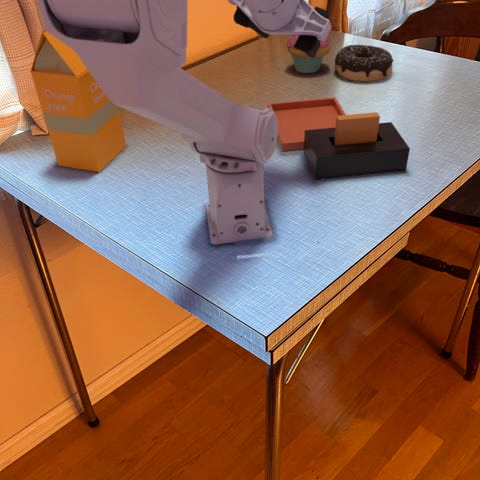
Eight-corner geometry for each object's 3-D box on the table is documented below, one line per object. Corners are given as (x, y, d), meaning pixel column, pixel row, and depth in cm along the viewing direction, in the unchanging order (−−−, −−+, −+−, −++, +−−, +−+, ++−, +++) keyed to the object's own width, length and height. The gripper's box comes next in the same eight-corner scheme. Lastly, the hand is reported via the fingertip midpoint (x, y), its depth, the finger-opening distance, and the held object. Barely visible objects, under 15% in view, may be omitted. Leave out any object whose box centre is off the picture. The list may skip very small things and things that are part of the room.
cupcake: (282, 75, 111) (282, 8, 103) (291, 59, 117) (293, -5, 109) (325, 78, 109) (329, 10, 101) (332, 62, 115) (337, -4, 107)
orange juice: (127, 145, 93) (101, 12, 79) (100, 172, 87) (66, 33, 73) (85, 140, 95) (53, 9, 81) (56, 165, 89) (16, 29, 75)
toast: (374, 161, 85) (380, 116, 80) (334, 164, 84) (338, 120, 80) (371, 156, 86) (377, 111, 81) (332, 160, 85) (336, 115, 81)
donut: (345, 86, 106) (347, 65, 103) (325, 64, 114) (327, 43, 111) (400, 79, 107) (404, 58, 104) (377, 58, 116) (380, 37, 113)
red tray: (357, 146, 89) (358, 136, 88) (282, 154, 89) (282, 143, 87) (334, 107, 100) (335, 97, 99) (267, 113, 99) (267, 103, 98)
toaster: (405, 173, 83) (410, 148, 80) (315, 182, 82) (316, 157, 79) (387, 146, 89) (391, 121, 86) (303, 154, 88) (304, 130, 85)
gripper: (336, -25, 64) (350, 32, 77) (231, -64, 68) (261, -4, 81) (306, 34, 65) (325, 80, 78) (204, -8, 69) (238, 42, 82)
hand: (291, 40), depth 80 cm, fingers open, 7 cm apart
